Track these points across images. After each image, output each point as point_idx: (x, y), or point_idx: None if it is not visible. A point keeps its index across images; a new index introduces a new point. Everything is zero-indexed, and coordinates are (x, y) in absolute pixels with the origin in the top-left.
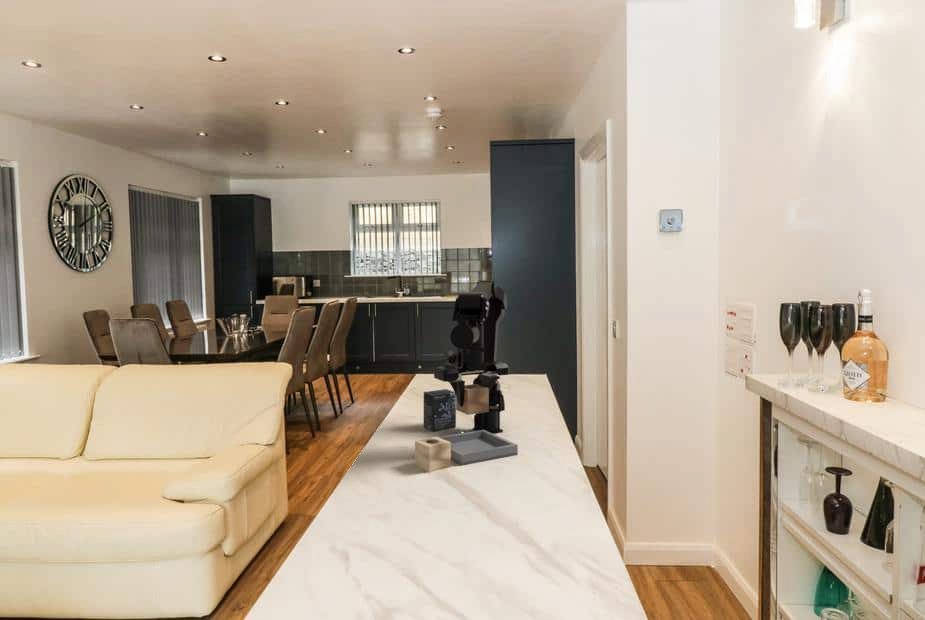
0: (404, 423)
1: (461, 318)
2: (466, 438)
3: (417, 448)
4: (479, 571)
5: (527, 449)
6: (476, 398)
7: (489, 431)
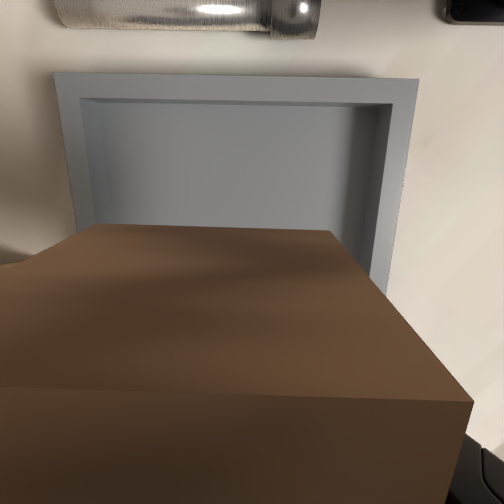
0: None
1: None
2: (280, 103)
3: None
4: None
5: (437, 326)
6: None
7: (499, 5)
